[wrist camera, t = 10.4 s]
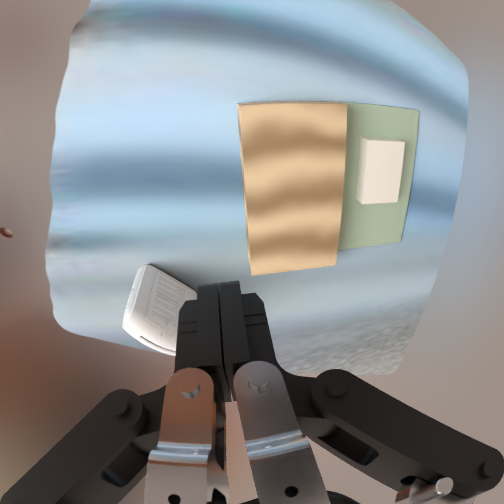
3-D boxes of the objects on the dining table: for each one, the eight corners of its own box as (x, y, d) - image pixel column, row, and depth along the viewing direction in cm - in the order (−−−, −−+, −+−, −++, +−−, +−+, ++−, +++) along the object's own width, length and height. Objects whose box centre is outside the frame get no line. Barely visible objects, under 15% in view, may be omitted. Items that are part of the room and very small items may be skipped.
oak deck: (237, 103, 31) (239, 105, 27) (333, 101, 32) (347, 104, 28) (248, 259, 43) (251, 275, 39) (326, 249, 44) (335, 264, 40)
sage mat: (337, 102, 32) (338, 102, 31) (417, 110, 32) (418, 110, 32) (329, 249, 44) (330, 250, 43) (398, 240, 45) (399, 242, 44)
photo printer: (132, 277, 42) (114, 337, 32) (144, 258, 41) (127, 319, 30) (186, 306, 47) (183, 368, 36) (201, 291, 45) (200, 353, 35)
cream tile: (404, 142, 33) (397, 138, 34) (367, 140, 32) (360, 136, 34) (397, 202, 38) (390, 196, 39) (362, 204, 37) (356, 198, 39)
